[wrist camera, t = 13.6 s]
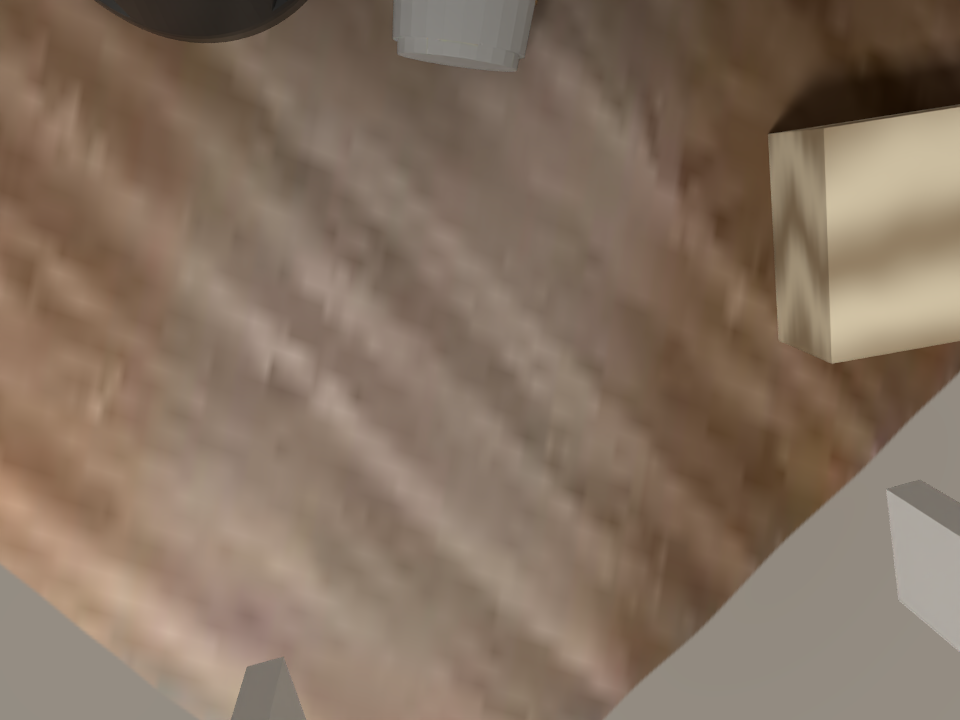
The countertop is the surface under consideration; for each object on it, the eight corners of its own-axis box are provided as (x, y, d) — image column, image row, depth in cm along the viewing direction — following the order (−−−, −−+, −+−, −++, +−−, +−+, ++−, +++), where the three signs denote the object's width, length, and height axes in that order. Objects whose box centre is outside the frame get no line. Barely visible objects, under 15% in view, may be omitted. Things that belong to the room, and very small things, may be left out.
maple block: (765, 134, 43) (823, 128, 37) (966, 103, 44) (1052, 92, 38) (776, 339, 46) (831, 363, 40) (963, 306, 47) (1044, 325, 41)
